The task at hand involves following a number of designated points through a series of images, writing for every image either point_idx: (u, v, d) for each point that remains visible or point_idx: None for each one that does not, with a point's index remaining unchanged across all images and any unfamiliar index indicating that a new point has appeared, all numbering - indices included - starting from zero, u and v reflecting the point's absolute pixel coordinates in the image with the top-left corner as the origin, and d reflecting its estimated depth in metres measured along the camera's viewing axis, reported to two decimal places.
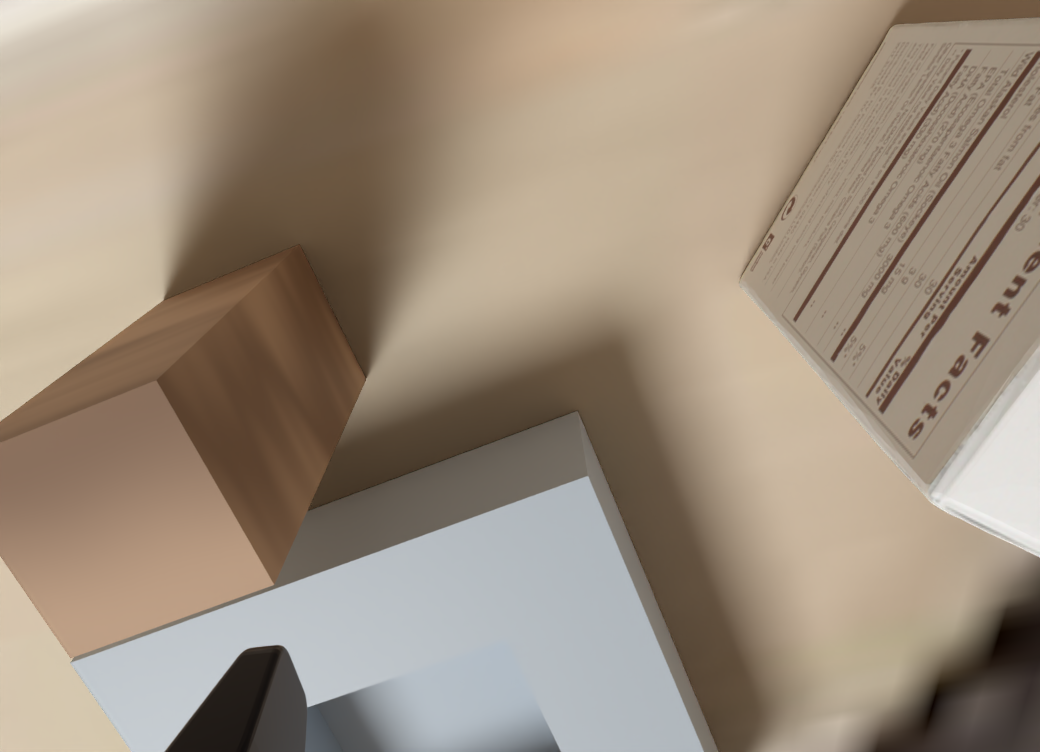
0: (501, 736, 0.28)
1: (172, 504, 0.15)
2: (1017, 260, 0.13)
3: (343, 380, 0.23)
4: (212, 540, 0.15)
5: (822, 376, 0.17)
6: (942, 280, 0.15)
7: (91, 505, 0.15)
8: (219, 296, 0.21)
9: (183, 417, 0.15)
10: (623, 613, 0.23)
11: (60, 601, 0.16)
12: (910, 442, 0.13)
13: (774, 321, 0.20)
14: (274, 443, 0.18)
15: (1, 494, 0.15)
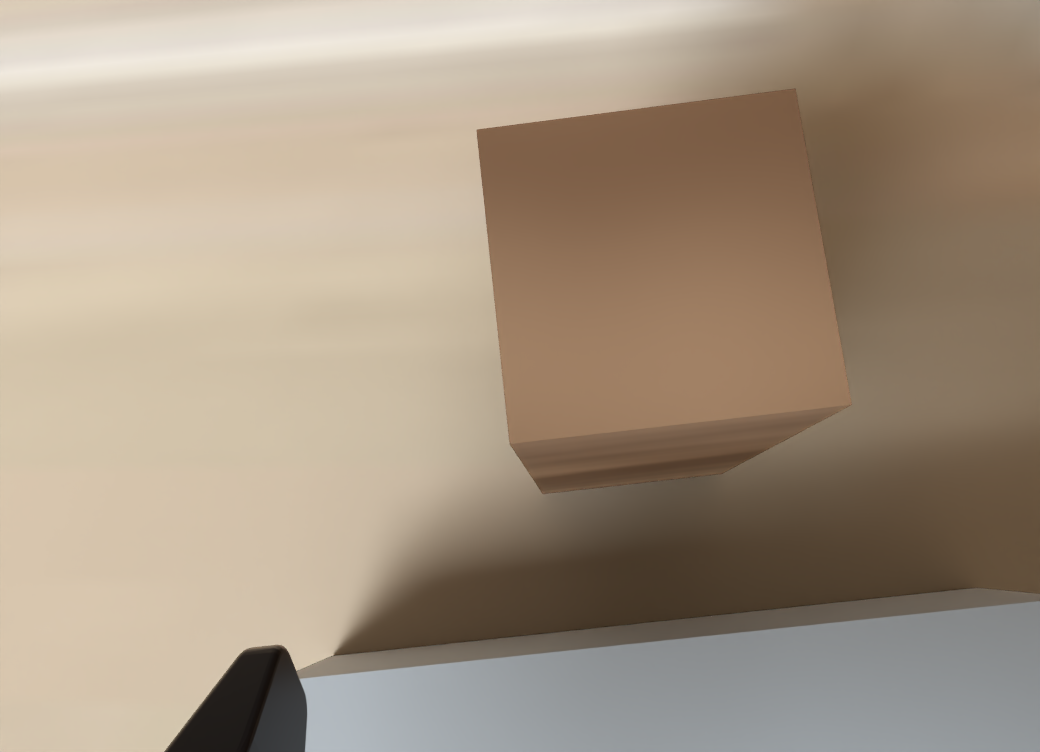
0: None
1: (752, 249, 0.11)
2: None
3: None
4: (785, 316, 0.11)
5: None
6: None
7: (643, 226, 0.11)
8: None
9: (802, 149, 0.11)
10: None
11: (538, 350, 0.11)
12: None
13: None
14: None
15: (535, 182, 0.11)
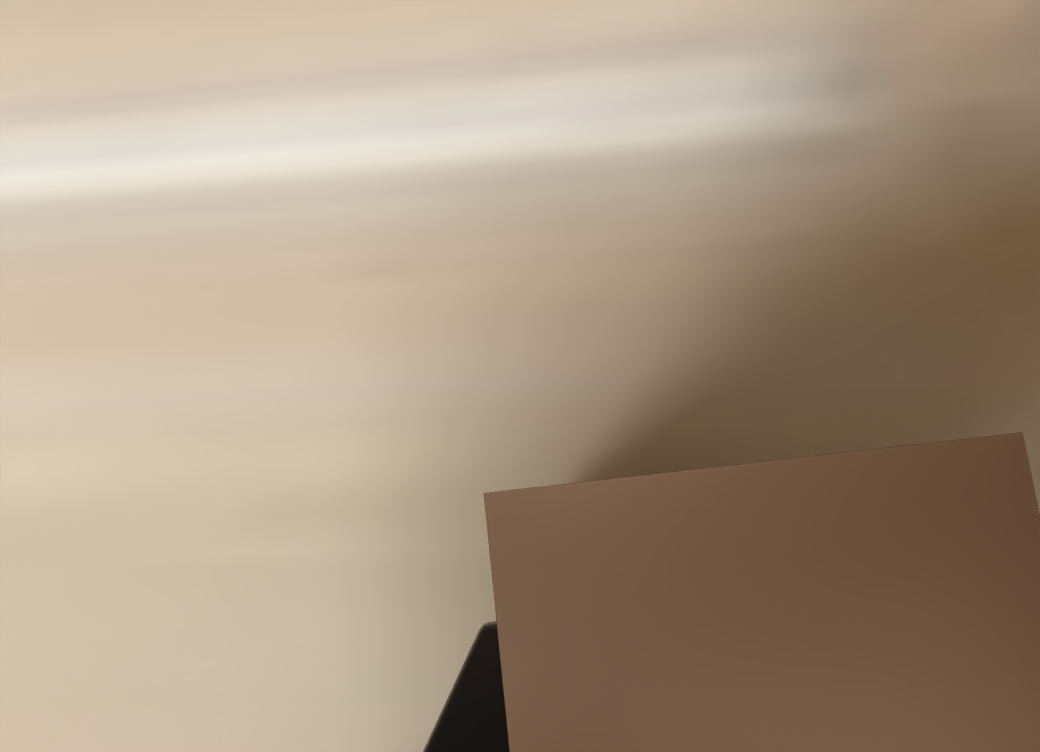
0: None
1: (959, 728, 0.06)
2: None
3: None
4: None
5: None
6: None
7: (770, 678, 0.07)
8: None
9: (1035, 536, 0.07)
10: None
11: None
12: None
13: None
14: None
15: (582, 592, 0.07)
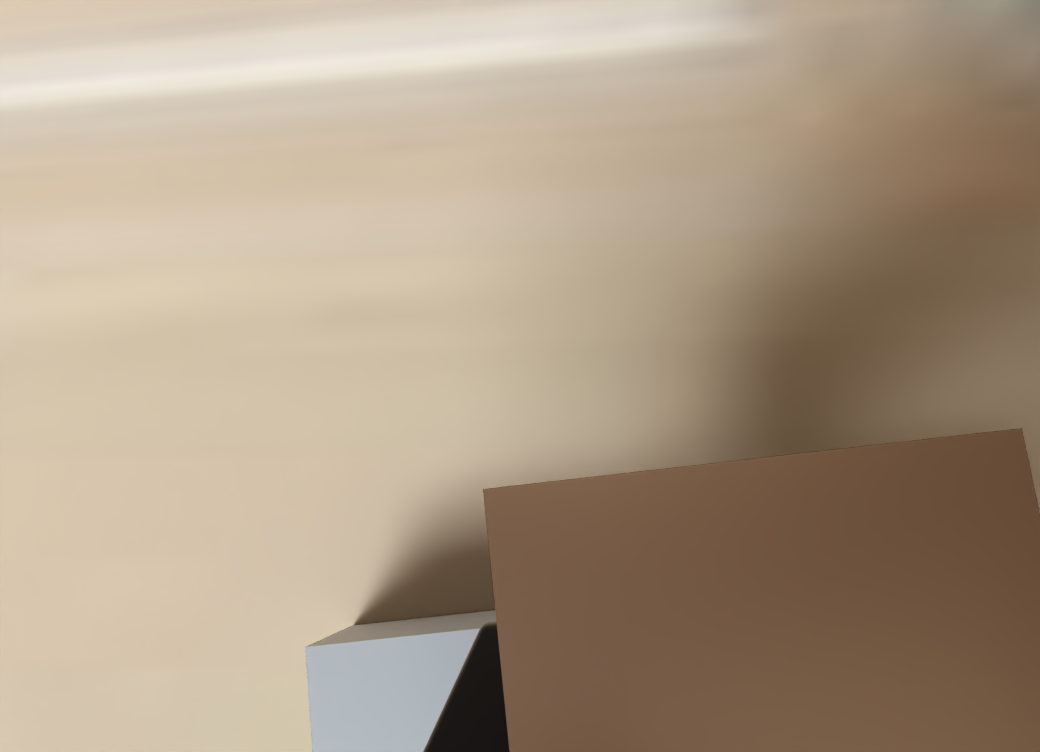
0: None
1: (958, 723, 0.06)
2: None
3: None
4: None
5: None
6: None
7: (770, 673, 0.07)
8: None
9: (1034, 532, 0.07)
10: None
11: None
12: None
13: None
14: None
15: (582, 587, 0.07)
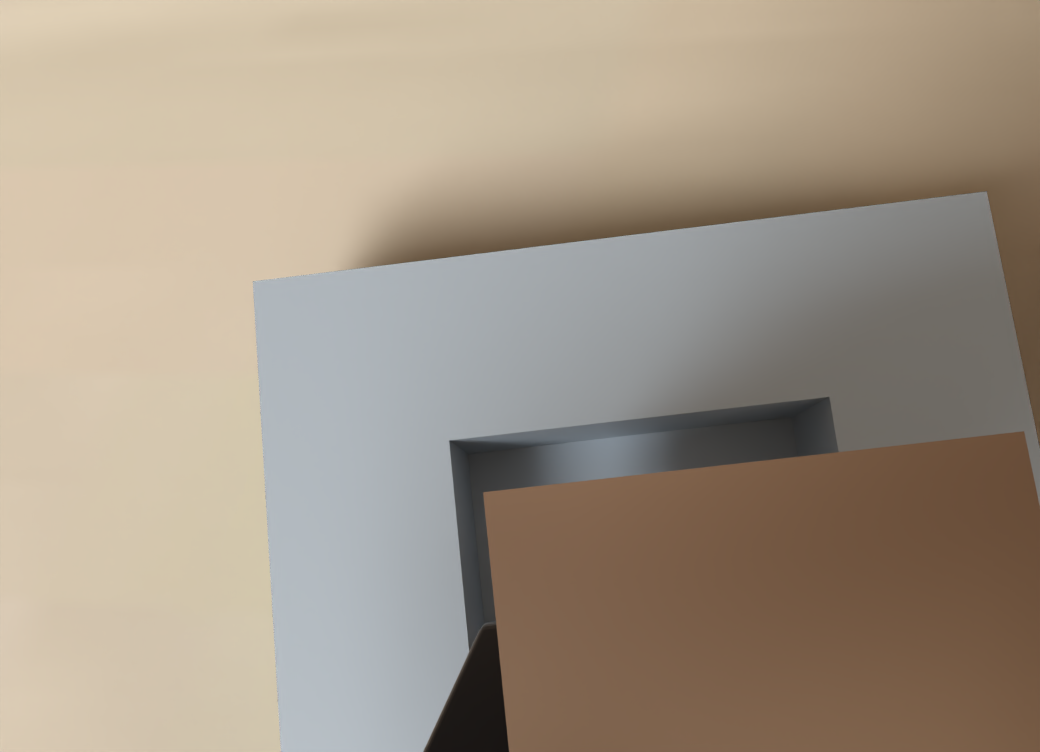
0: None
1: (960, 727, 0.06)
2: None
3: None
4: None
5: None
6: None
7: (771, 678, 0.07)
8: None
9: (1036, 534, 0.07)
10: (999, 399, 0.17)
11: None
12: None
13: None
14: None
15: (582, 591, 0.07)
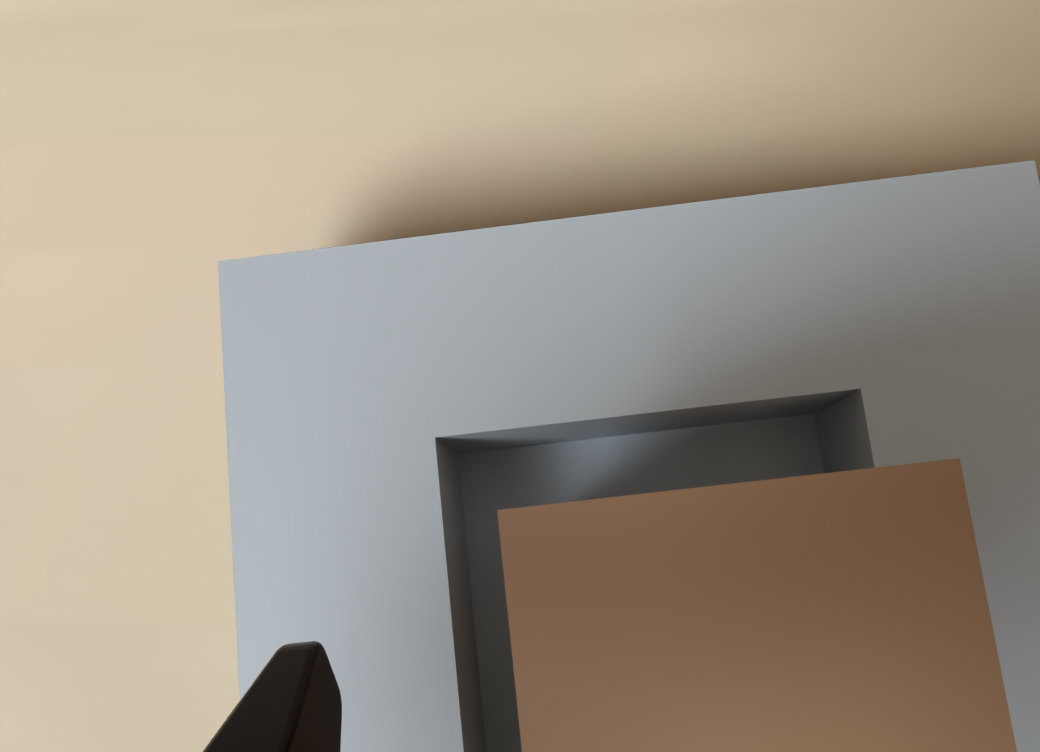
0: None
1: (903, 710, 0.08)
2: None
3: None
4: None
5: None
6: None
7: (743, 668, 0.08)
8: None
9: (970, 547, 0.08)
10: None
11: None
12: None
13: None
14: None
15: (582, 595, 0.08)
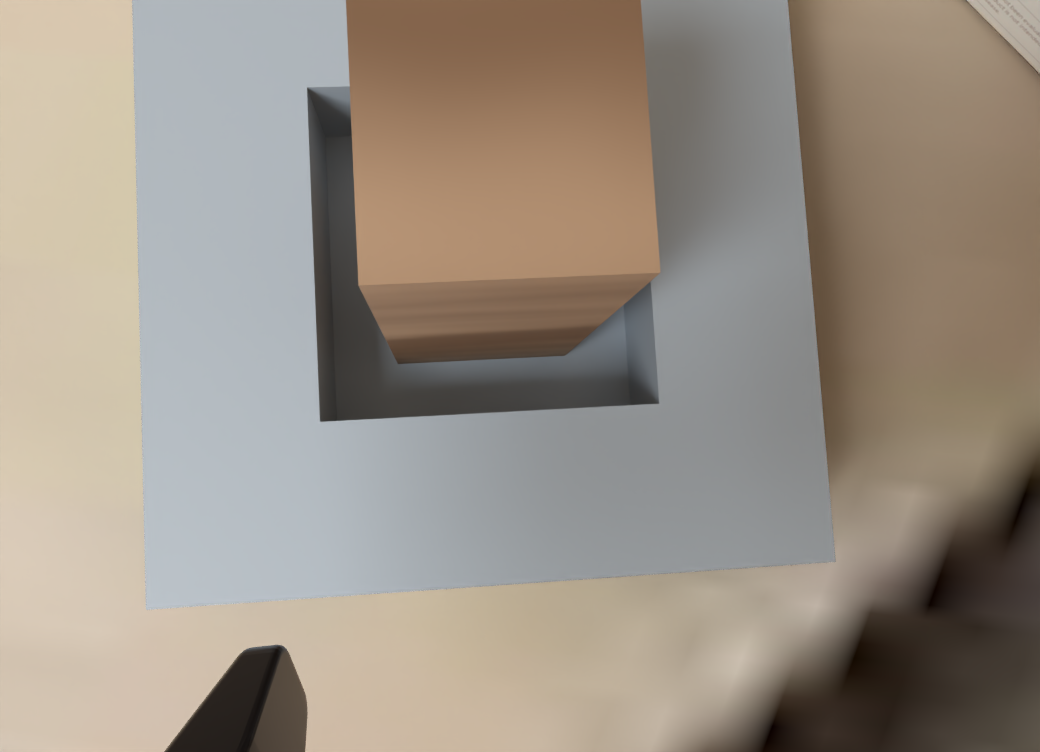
0: None
1: (588, 128, 0.12)
2: None
3: None
4: (611, 191, 0.12)
5: None
6: None
7: (495, 97, 0.12)
8: None
9: (641, 43, 0.13)
10: (772, 93, 0.20)
11: (389, 204, 0.12)
12: None
13: None
14: None
15: (397, 47, 0.12)
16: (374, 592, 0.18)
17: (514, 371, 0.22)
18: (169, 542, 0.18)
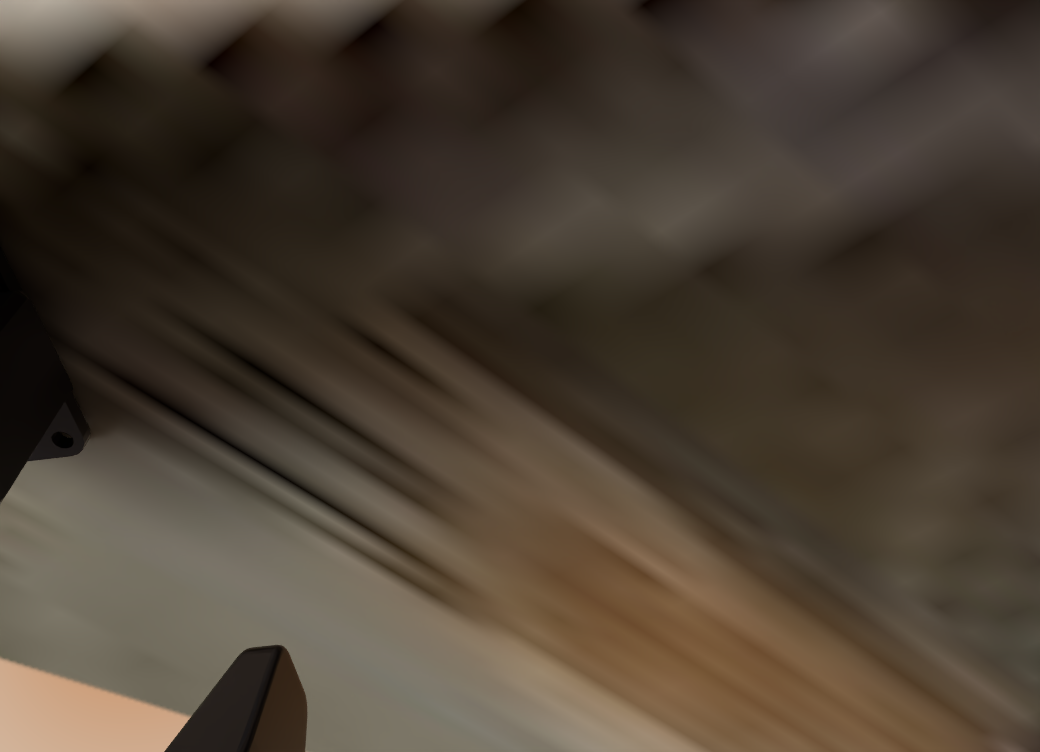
0: None
1: None
2: None
3: None
4: None
5: None
6: None
7: None
8: None
9: None
10: None
11: None
12: None
13: None
14: None
15: None
16: None
17: None
18: None
